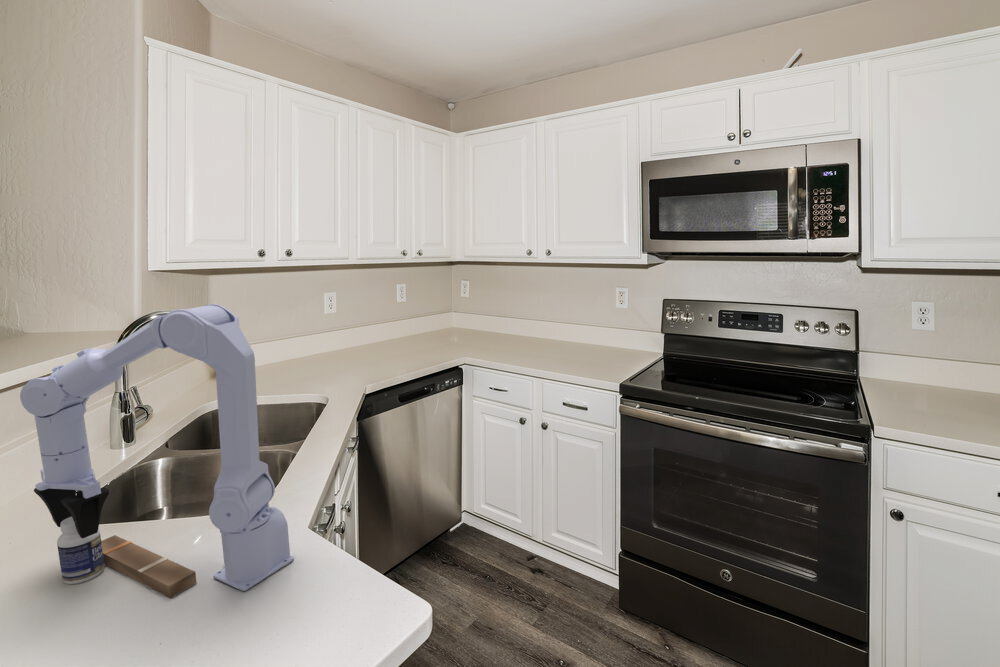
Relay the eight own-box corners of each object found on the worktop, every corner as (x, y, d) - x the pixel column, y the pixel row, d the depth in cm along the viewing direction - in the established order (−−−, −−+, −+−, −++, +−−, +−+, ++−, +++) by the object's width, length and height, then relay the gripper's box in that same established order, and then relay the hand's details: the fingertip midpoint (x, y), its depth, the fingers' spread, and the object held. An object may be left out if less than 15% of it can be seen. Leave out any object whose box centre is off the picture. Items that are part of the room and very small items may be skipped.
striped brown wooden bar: (116, 545, 91) (115, 534, 91) (196, 583, 80) (195, 570, 80) (90, 557, 88) (88, 545, 88) (170, 598, 77) (168, 585, 76)
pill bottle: (103, 577, 82) (95, 521, 81) (59, 589, 79) (50, 531, 78) (106, 561, 87) (99, 508, 85) (66, 572, 84) (57, 517, 82)
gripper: (11, 450, 80) (25, 530, 82) (55, 466, 73) (69, 553, 75) (66, 436, 86) (77, 511, 88) (111, 449, 79) (122, 530, 81)
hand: (77, 529), depth 82 cm, fingers open, 7 cm apart
